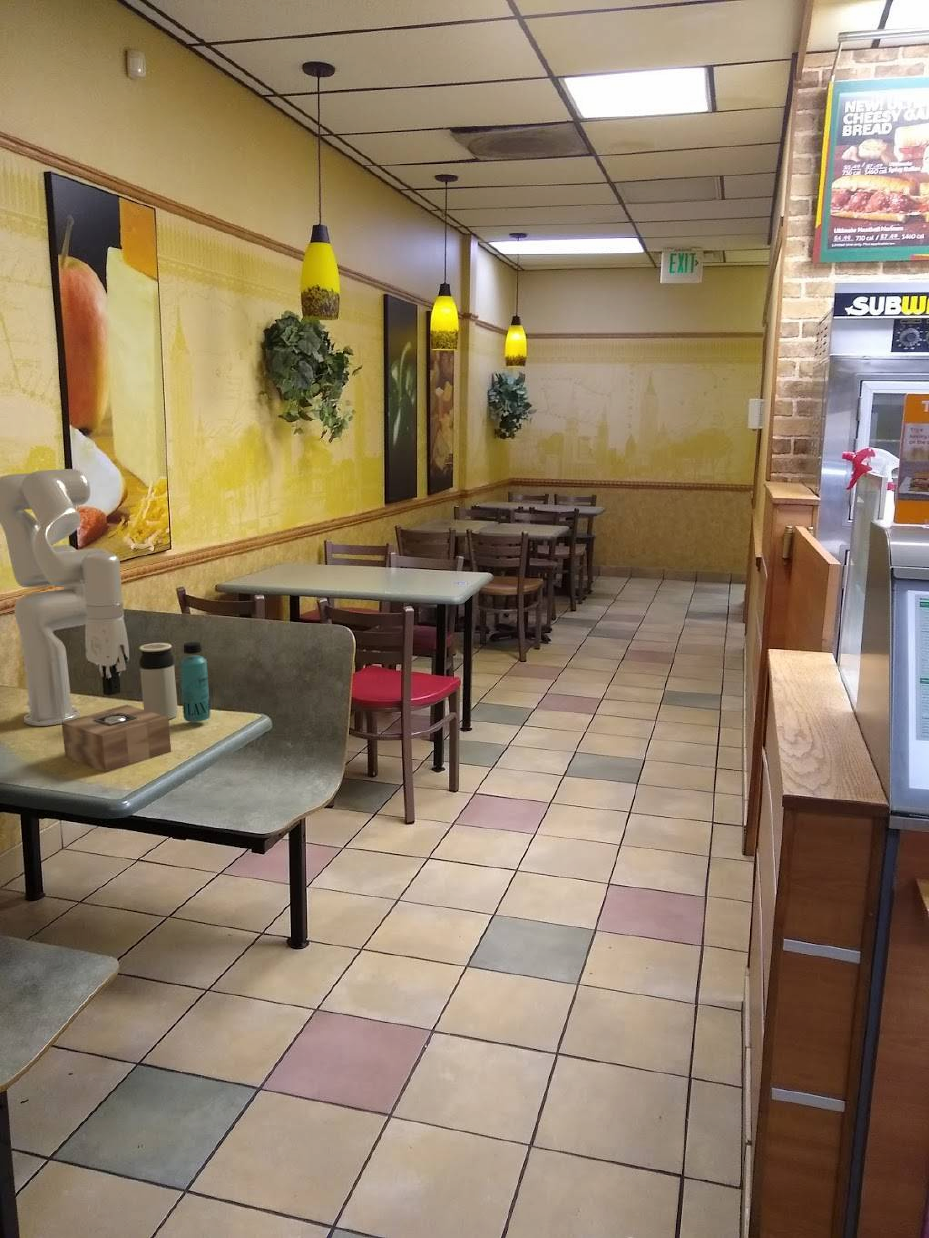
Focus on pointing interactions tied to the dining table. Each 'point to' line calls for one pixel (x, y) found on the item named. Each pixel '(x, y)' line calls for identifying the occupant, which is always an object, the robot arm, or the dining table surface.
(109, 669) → the robot arm
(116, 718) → the steel dowel
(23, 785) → the dining table surface
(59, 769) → the dining table surface
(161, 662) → the travel mug
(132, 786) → the dining table surface
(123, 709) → the block
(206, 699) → the beverage bottle
